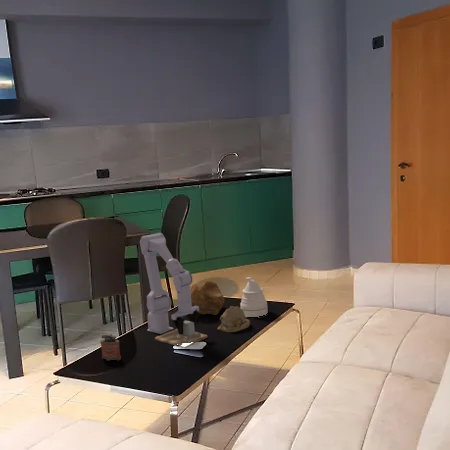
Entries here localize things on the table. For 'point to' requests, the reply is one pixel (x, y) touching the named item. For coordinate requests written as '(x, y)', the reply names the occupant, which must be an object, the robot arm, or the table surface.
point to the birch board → (180, 337)
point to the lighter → (110, 347)
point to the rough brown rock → (207, 298)
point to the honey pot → (253, 300)
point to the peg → (188, 328)
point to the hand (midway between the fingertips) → (187, 331)
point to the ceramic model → (233, 320)
